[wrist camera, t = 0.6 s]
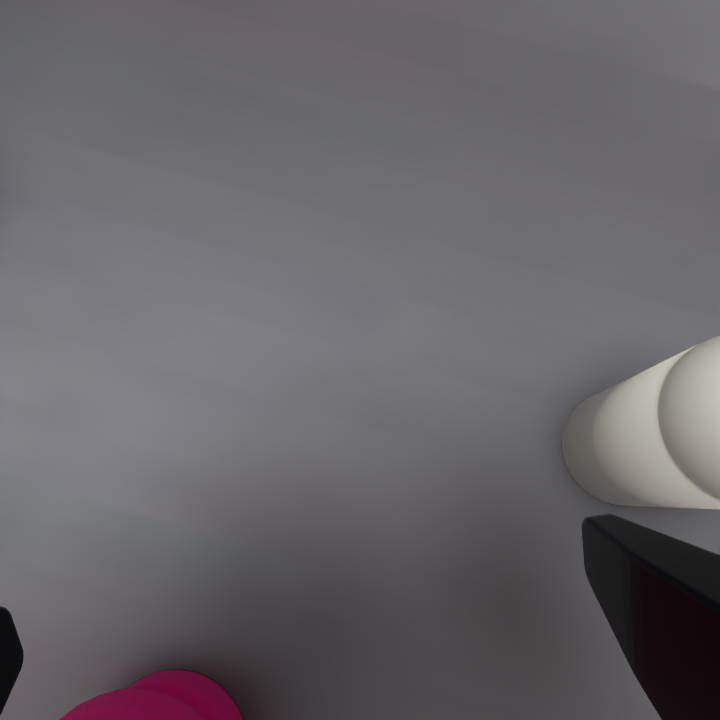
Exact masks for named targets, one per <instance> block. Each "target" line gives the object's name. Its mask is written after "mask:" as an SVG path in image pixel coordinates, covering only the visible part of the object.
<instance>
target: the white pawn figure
mask: <svg viewBox="0 0 720 720" xmlns="http://www.w3.org/2000/svg"><path fill="white" fill-rule="evenodd" d="M562 453H563V458H564V461H565V464H566V466H567V468H568V471H569V472H570V474H571V476H572V477H573V478H574V480H575V481H576V482H577V484H578V485H579V486H580V487H581V488H582V489H583V490H585V491H586V492H587V493H589V494H590V495H592V496H593V497H595V498H597V499H599V500H601V501H603V502H606V503H609V504H614V505H620V506H644V507H670V508H697V509H720V335H718V336H716V337H713V338H710V339H708V340H706V341H704V342H702V343H700V344H697V345H695V346H693V347H691V348H689V349H687V350H685V351H683V352H681V353H679V354H677V355H675V356H673V357H671V358H669V359H667V360H665V361H663V362H661V363H659V364H657V365H655V366H653V367H651V368H649V369H647V370H645V371H643V372H641V373H639V374H637V375H635V376H633V377H630V378H628V379H626V380H624V381H622V382H620V383H618V384H616V385H614V386H612V387H610V388H608V389H606V390H604V391H602V392H600V393H598V394H596V395H594V396H592V397H590V398H588V399H586V400H584V401H583V402H582V403H580V404H579V405H578V406H577V407H576V408H575V409H574V410H573V411H572V413H571V414H570V415H569V417H568V419H567V421H566V423H565V426H564V429H563V433H562Z"/></svg>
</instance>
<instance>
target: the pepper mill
mask: <svg viewBox="0 0 720 720" xmlns="http://www.w3.org/2000/svg"><path fill="white" fill-rule="evenodd" d="M59 720H243V719H242V717H241V714H240V712H239V709H238V708H237V706H236V704H235V703H234V702H233V700H232V699H231V697H230V696H229V695H228V694H227V693H226V692H225V691H224V690H223V689H222V688H221V687H220V686H219V685H218V684H216V683H215V682H214V681H212V680H210V679H209V678H207V677H205V676H203V675H200V674H197V673H194V672H190V671H183V670H168V671H161V672H157V673H153V674H151V675H148V676H146V677H144V678H142V679H140V680H139V681H137V682H135V683H133V684H132V685H131V686H129V687H128V688H127V689H122V690H116V691H113V692H109V693H106V694H103V695H99V696H97V697H95V698H93V699H91V700H88V701H86V702H84V703H82V704H80V705H78V706H76V707H75V708H74V709H72V710H71V711H70V712H69V713H67V714H66V715H65V716H63V717H62V718H61V719H59Z"/></svg>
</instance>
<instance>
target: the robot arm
mask: <svg viewBox="0 0 720 720" xmlns="http://www.w3.org/2000/svg"><path fill="white" fill-rule="evenodd" d="M582 538H583V552H584V566H585V571H586V575H587V578H588V581H589V583H590V585H591V587H592V589H593V591H594V593H595V595H596V597H597V600H598V602H599V604H600V606H601V608H602V610H603V612H604V614H605V616H606V618H607V620H608V622H609V624H610V626H611V628H612V630H613V632H614V634H615V636H616V638H617V641H618V643H619V645H620V647H621V649H622V651H623V653H624V655H625V657H626V659H627V661H628V663H629V665H630V667H631V669H632V671H633V673H634V674H635V676H636V678H637V680H638V681H639V683H640V685H641V686H642V688H643V690H644V692H645V693H646V695H647V696H648V698H649V700H650V701H651V703H652V704H653V706H654V708H655V709H656V711H657V712H658V714H659V716H660V717H661V719H662V720H720V555H718V554H715V553H713V552H710V551H707V550H705V549H702V548H699V547H697V546H694V545H692V544H689V543H686V542H684V541H681V540H678V539H676V538H673V537H670V536H668V535H665V534H662V533H660V532H657V531H654V530H652V529H649V528H646V527H644V526H641V525H639V524H636V523H633V522H631V521H628V520H625V519H623V518H620V517H617V516H615V515H612V514H604V515H597V516H591V517H587V518H585V519H584V520H583V523H582ZM23 656H24V655H23V648H22V645H21V642H20V639H19V636H18V633H17V631H16V628H15V625H14V622H13V619H12V616H11V614H10V612H9V611H8V610H7V609H6V608H4V607H2V606H0V715H1V713H2V711H3V708H4V706H5V704H6V702H7V699H8V697H9V695H10V693H11V690H12V688H13V686H14V684H15V681H16V679H17V677H18V675H19V672H20V670H21V668H22V664H23Z"/></svg>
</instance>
